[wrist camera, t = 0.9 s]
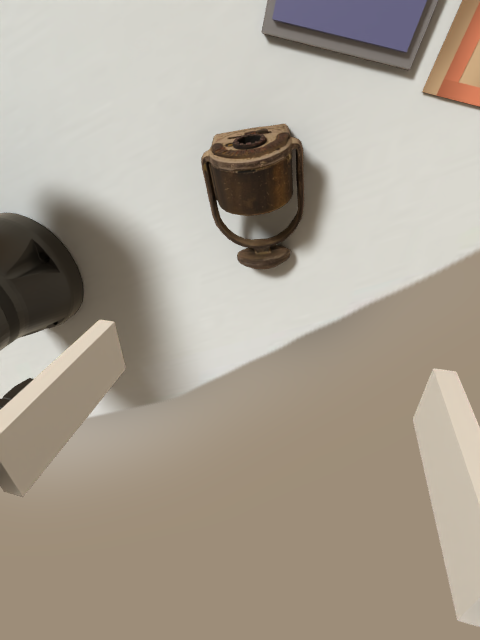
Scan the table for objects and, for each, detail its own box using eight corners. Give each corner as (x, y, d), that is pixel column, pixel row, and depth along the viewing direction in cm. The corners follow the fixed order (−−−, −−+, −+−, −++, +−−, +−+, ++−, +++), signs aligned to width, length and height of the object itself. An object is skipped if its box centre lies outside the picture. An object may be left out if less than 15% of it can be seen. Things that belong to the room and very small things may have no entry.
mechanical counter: (349, 144, 23) (207, 97, 22) (286, 302, 30) (174, 272, 29) (329, 138, 29) (217, 101, 28) (280, 270, 36) (188, 245, 35)
